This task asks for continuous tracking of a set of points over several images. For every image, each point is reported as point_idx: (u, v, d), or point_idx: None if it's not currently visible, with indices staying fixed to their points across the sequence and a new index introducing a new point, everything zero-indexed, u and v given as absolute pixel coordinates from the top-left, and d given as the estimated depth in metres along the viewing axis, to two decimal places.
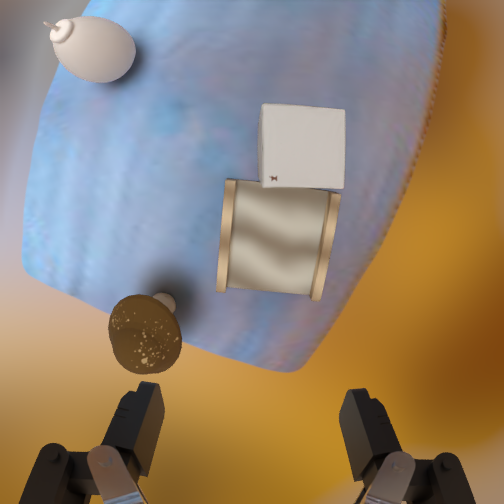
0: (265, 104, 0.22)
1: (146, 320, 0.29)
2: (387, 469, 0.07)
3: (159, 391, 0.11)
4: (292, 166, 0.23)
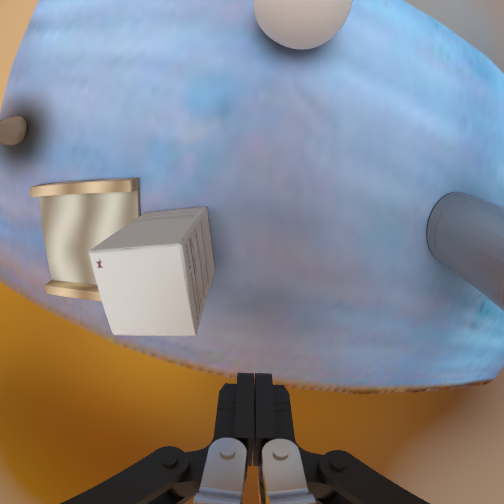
0: (180, 248, 0.18)
1: None
2: (270, 462, 0.07)
3: None
4: (115, 283, 0.19)
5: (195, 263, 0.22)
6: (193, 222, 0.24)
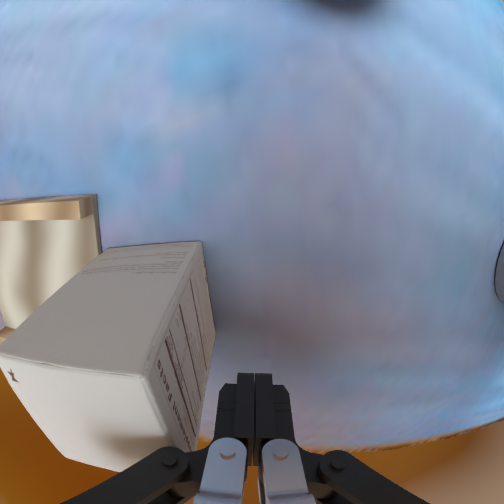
0: (144, 382, 0.07)
1: None
2: (270, 462, 0.07)
3: None
4: (45, 409, 0.08)
5: (181, 371, 0.11)
6: (175, 288, 0.12)
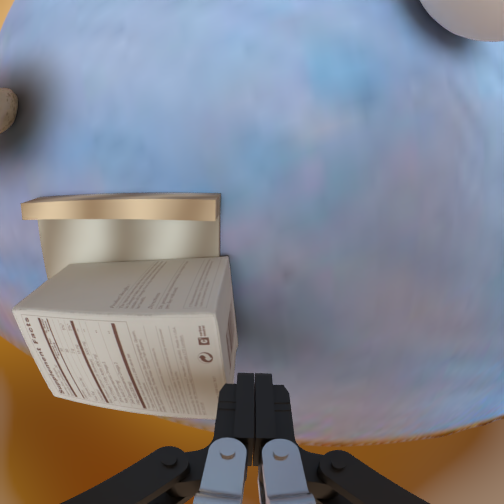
0: (13, 312, 0.12)
1: None
2: (270, 462, 0.07)
3: None
4: None
5: (60, 351, 0.13)
6: (79, 311, 0.12)
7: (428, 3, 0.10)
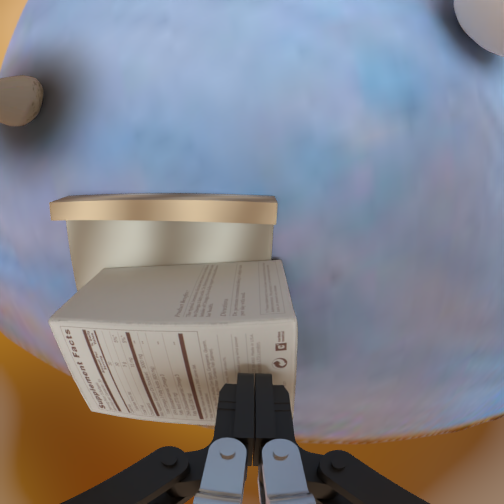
0: (49, 324, 0.12)
1: None
2: (270, 462, 0.07)
3: None
4: None
5: (107, 365, 0.13)
6: (138, 321, 0.12)
7: (466, 21, 0.10)
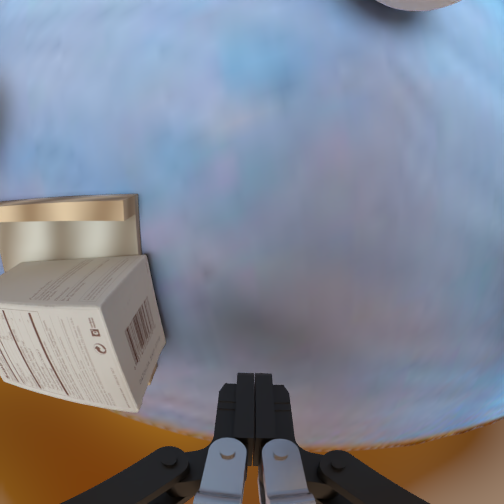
0: None
1: None
2: (270, 462, 0.07)
3: None
4: None
5: None
6: (8, 301, 0.12)
7: None
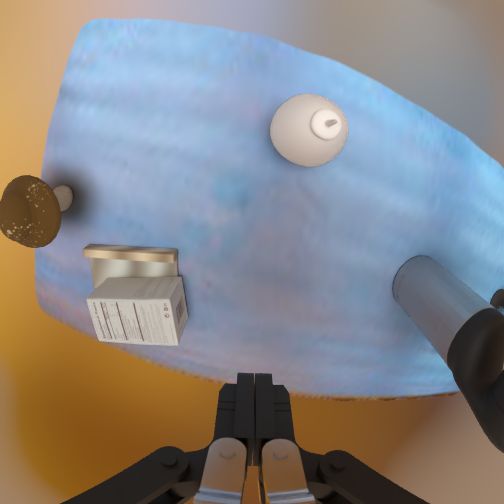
0: None
1: (40, 224, 0.27)
2: (270, 462, 0.07)
3: None
4: None
5: (108, 316, 0.35)
6: (120, 298, 0.35)
7: None
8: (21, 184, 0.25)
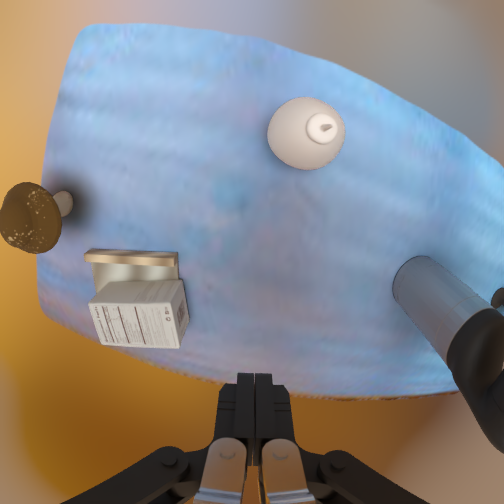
0: (88, 304, 0.35)
1: (41, 230, 0.27)
2: (270, 462, 0.07)
3: None
4: None
5: (110, 320, 0.36)
6: (121, 302, 0.35)
7: None
8: (21, 191, 0.26)
